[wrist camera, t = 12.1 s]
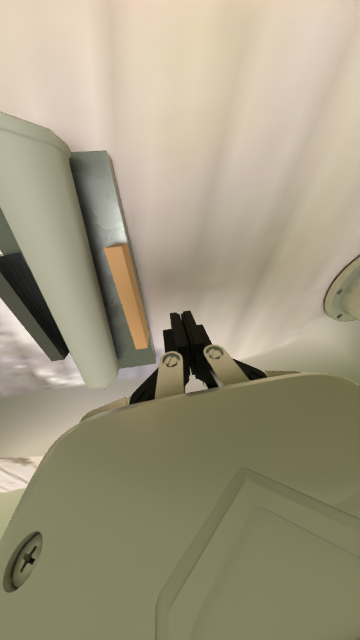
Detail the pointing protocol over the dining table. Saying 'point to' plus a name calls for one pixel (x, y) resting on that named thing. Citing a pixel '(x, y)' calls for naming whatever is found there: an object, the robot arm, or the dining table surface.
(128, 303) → the bar
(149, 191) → the dining table surface
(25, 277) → the galvanized metal plate
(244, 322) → the dining table surface
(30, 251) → the tube
